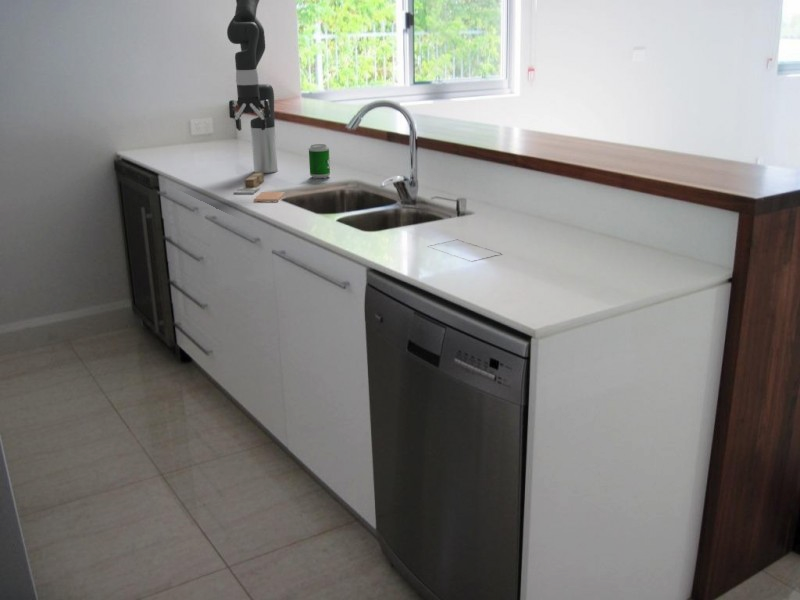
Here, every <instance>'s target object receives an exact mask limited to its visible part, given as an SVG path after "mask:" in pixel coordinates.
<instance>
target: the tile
mask: <svg viewBox="0 0 800 600" xmlns="http://www.w3.org/2000/svg"><path fill="white" fill-rule="evenodd" d="M285 196H286V192H285V191H261V192H260V193H259V194H258V195H256V197H254V198H253V202H254V201H255V202H254V203H258V202H257V201H279V200H280V201H281V200H282V199H283V198H284V197H285Z"/></svg>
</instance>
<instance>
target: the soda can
mask: <svg viewBox="0 0 800 600" xmlns="http://www.w3.org/2000/svg"><path fill="white" fill-rule="evenodd" d="M308 157H309V159H308V160H309V162H308V163H309V164H308V165H309V175H310V177H313V178H312V179H315V178H324V179H327V177H328V178H329V176H330V174H331V168H330V167H331V166H330V165H331V164H330V161H331V160H330V147H328V146H327V144H323V143H322V144H321V143H318V144H317V143H316V144H311V145H310V147H309V148H308Z"/></svg>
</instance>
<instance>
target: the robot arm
mask: <svg viewBox="0 0 800 600" xmlns="http://www.w3.org/2000/svg"><path fill="white" fill-rule="evenodd" d="M235 2H236V5H235V13H234V16H233V18H232V19H231V20H230V22H229V23H228V26H227V31H226V36H227V39H228V40H229V42H230V43H232V44H233V45H240V51H237V52H236V53H235V54H234V60H235V61H234V62H235V70H236V72H235V82H236V83H235V84H236V93H237V100H234V99H232V100H229V101H228V105H229V106H228V110H229V118H230V119H233V120H234V121H235V128H236V129H237V131H242V128H243V127H242V119H241V117H242V115H243V114H248V113H250V114H254V113H255V114H256V115H257V117H254V118H252V119H251V120H250V133H251V135H250V136H251V147H252V158H253V159H252V160H253V172H254V173H263V174H266V173H267V174H268V173H276V172H278V169H279V167H278V154H277V142H276V141H277V140H276V138H277V137H276V128H275V127H276V125H275V123H276V122H275V121H276V118H275V93H274V88H273V86H272V85H271V84H269V83H268V84H267V83H260V84H259V76H258V69H257V67H258V65H259V63H260V62H261V59H262V57H263V55H264V54H265V50H266V38H265V35H266V34H265V29H264V27H263V25H262V22H260V20H259V19H258V17H257V9H258V4H259V2H260V0H235ZM237 106H238V107H239V109H238V111H237V113H236V111H235V110H236V107H237ZM235 113H236V114H235Z"/></svg>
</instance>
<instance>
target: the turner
mask: <svg viewBox="0 0 800 600" xmlns="http://www.w3.org/2000/svg"><path fill="white" fill-rule="evenodd" d="M264 182H265V178H264V173H257V172H254V173H253V174H251V175H249V177H247V178H246V179H245V180H244V186H245V187H238V188H237V189H236V190H235V191H233V195H255V194H256V193H257V192H259V191H260V186H261V185H262V184H263V183H264ZM254 193H255V194H254Z"/></svg>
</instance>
